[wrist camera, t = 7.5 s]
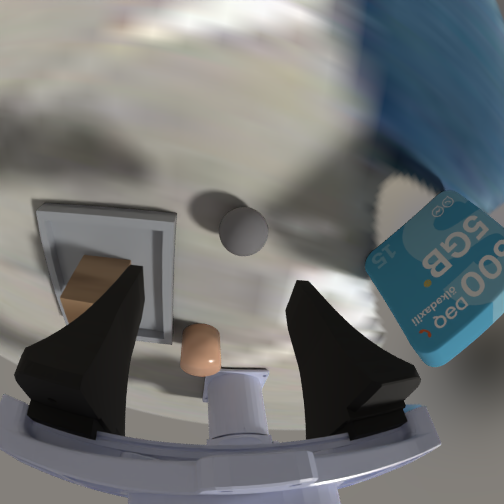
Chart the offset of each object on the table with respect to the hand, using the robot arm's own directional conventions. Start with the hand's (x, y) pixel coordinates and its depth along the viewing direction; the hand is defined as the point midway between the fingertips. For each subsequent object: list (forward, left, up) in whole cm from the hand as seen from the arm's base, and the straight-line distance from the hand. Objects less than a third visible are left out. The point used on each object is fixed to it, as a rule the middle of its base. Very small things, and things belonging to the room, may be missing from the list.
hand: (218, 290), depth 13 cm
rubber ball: (-1, -2, -9) cm, 10 cm away
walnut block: (-8, +9, -9) cm, 15 cm away
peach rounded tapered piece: (-15, 0, -10) cm, 18 cm away
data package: (0, -19, -10) cm, 21 cm away
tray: (-8, +9, -9) cm, 15 cm away
